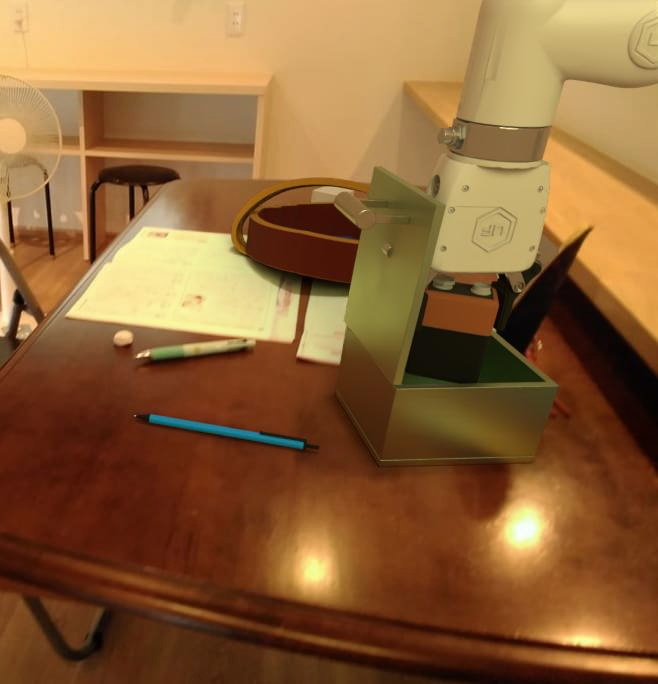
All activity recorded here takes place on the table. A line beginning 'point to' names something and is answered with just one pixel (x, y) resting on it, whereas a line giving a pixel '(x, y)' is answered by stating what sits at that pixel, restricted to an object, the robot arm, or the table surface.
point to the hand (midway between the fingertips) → (451, 324)
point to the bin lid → (390, 265)
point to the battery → (453, 331)
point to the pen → (230, 432)
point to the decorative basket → (300, 232)
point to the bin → (447, 410)
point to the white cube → (327, 193)
